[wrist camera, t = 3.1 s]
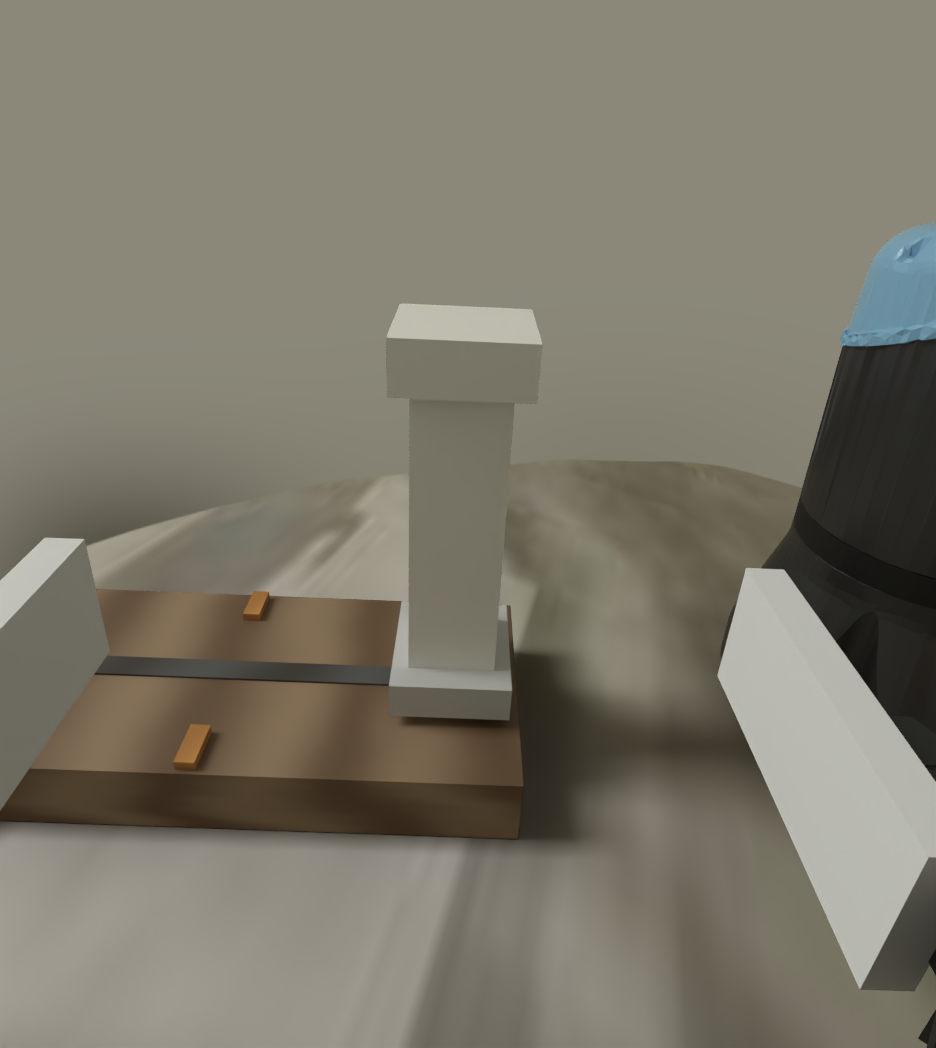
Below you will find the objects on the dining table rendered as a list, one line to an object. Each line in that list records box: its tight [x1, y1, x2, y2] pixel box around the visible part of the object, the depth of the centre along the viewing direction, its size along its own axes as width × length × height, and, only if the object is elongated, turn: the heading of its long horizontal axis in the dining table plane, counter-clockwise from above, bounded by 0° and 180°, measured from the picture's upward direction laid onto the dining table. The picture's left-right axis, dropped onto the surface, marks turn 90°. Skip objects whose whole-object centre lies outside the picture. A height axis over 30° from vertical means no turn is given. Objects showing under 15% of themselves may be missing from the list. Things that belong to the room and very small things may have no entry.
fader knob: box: [386, 304, 542, 720], centre depth 29 cm, size 5×6×16 cm
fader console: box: [0, 589, 524, 839], centre depth 34 cm, size 26×12×3 cm, turn 90°
